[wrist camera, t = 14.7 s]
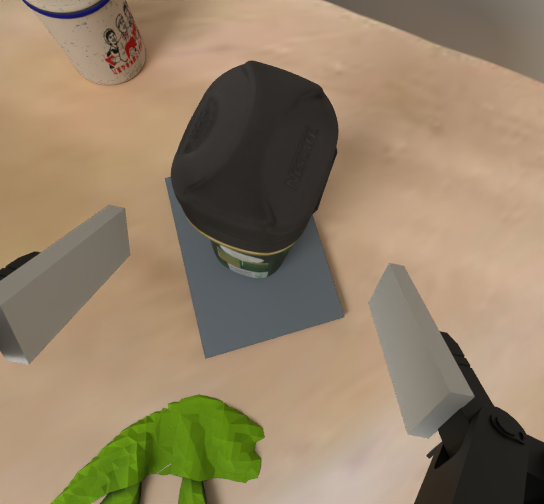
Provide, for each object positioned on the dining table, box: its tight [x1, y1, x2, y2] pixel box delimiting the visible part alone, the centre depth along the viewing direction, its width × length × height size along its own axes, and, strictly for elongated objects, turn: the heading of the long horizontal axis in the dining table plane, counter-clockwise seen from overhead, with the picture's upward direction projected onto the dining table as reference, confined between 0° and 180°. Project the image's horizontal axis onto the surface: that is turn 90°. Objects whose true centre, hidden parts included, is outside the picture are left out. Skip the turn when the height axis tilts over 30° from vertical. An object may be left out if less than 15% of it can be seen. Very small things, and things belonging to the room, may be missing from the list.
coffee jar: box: [171, 61, 338, 278], centre depth 22 cm, size 10×8×19 cm
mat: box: [165, 177, 344, 359], centre depth 31 cm, size 20×15×1 cm
